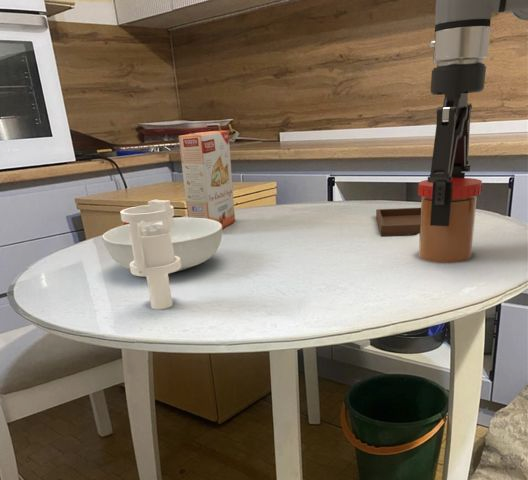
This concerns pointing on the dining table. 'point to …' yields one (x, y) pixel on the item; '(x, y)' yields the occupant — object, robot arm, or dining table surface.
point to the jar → (448, 232)
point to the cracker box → (208, 176)
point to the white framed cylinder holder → (153, 248)
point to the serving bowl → (182, 237)
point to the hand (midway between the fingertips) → (446, 218)
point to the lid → (454, 188)
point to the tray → (398, 221)
